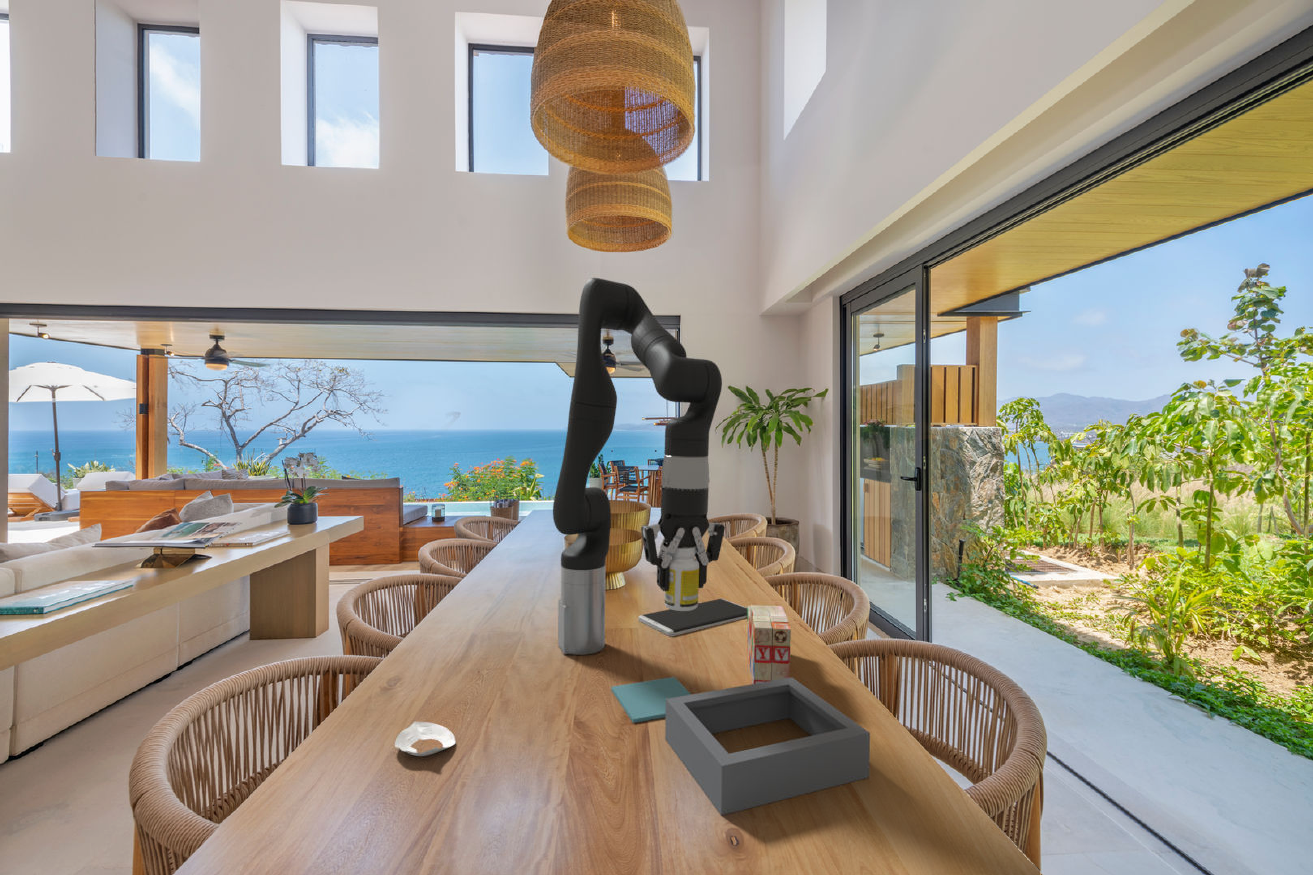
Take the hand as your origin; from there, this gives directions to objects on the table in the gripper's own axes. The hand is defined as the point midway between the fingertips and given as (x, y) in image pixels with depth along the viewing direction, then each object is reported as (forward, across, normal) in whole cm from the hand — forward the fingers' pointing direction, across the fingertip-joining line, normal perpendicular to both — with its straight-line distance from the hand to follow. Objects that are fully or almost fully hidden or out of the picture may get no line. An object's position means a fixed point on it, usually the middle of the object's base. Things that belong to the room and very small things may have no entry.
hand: (681, 587), depth 94 cm
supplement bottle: (+3, 0, 0) cm, 3 cm away
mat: (+21, +2, -5) cm, 21 cm away
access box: (+20, -6, +16) cm, 26 cm away
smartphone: (+22, -23, -41) cm, 52 cm away
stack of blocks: (+21, -22, -9) cm, 32 cm away
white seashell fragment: (+22, +38, -3) cm, 44 cm away
